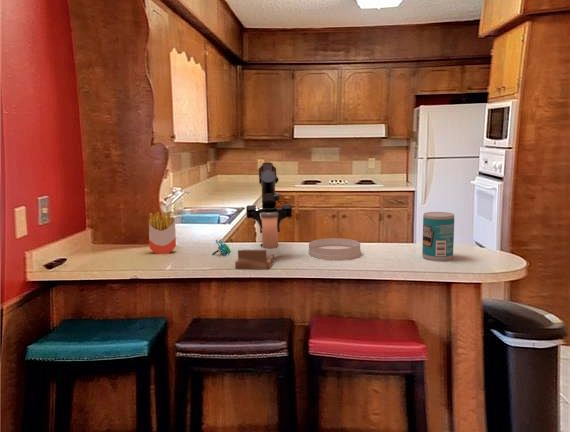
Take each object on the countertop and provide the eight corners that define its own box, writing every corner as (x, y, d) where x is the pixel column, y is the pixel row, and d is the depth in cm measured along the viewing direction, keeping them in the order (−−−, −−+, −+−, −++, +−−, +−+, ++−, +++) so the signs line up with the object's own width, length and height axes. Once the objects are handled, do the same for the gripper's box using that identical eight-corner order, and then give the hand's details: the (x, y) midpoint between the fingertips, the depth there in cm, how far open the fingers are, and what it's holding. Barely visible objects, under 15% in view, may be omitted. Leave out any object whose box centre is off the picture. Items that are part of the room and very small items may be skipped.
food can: (455, 255, 214) (456, 212, 212) (450, 262, 204) (451, 217, 201) (425, 253, 220) (426, 211, 217) (419, 259, 209) (420, 215, 206)
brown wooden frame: (242, 260, 214) (242, 243, 213) (274, 260, 212) (273, 243, 211) (235, 268, 201) (234, 250, 200) (269, 269, 199) (268, 251, 198)
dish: (334, 264, 206) (334, 251, 205) (297, 254, 223) (297, 243, 222) (371, 255, 220) (371, 243, 219) (334, 246, 237) (334, 236, 236)
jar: (267, 244, 219) (266, 210, 216) (281, 246, 215) (280, 211, 213) (258, 248, 213) (257, 213, 211) (272, 249, 210) (271, 214, 207)
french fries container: (174, 253, 228) (172, 212, 225) (149, 254, 228) (147, 213, 225) (176, 251, 233) (174, 211, 230) (151, 252, 232) (149, 212, 229)
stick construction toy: (227, 252, 219) (217, 237, 220) (213, 261, 219) (204, 246, 221) (235, 254, 230) (226, 239, 232) (223, 262, 231) (214, 248, 233)
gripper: (245, 186, 213) (245, 217, 205) (291, 185, 214) (293, 216, 205) (246, 202, 223) (247, 232, 214) (290, 201, 223) (292, 231, 214)
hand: (269, 228), depth 212 cm, fingers closed on jar, 6 cm apart
